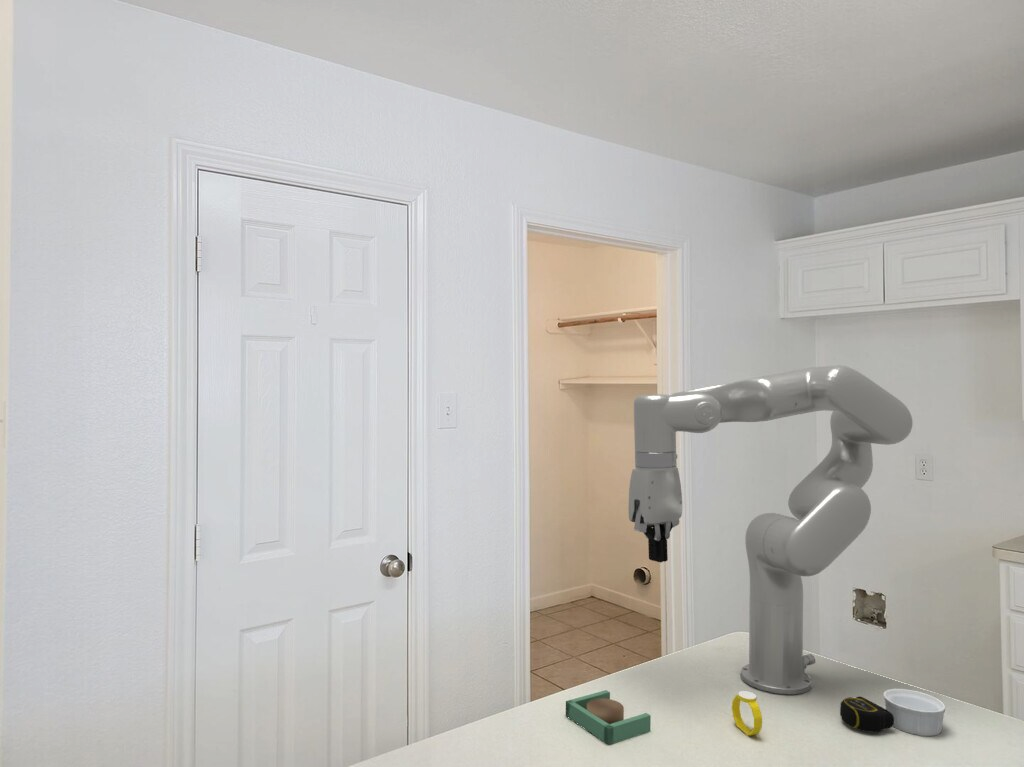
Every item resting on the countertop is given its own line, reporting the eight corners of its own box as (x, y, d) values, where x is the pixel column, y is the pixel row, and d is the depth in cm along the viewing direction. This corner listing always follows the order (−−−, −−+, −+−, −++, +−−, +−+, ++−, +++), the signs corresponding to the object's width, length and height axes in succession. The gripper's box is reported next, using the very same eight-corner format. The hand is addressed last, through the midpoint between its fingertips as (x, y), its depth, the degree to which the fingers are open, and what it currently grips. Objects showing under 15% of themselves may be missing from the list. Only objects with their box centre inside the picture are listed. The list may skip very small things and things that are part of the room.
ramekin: (892, 708, 120) (893, 683, 120) (951, 726, 113) (951, 700, 113) (875, 725, 113) (875, 698, 113) (936, 745, 107) (937, 717, 107)
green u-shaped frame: (606, 704, 119) (606, 690, 119) (650, 731, 110) (650, 715, 110) (565, 716, 114) (565, 701, 114) (608, 744, 105) (608, 728, 105)
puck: (607, 713, 116) (608, 695, 116) (631, 728, 111) (631, 709, 111) (579, 721, 113) (579, 703, 113) (602, 737, 108) (602, 718, 108)
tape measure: (896, 734, 110) (896, 710, 110) (862, 739, 108) (862, 715, 108) (863, 715, 117) (863, 693, 117) (830, 720, 115) (830, 697, 115)
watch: (727, 724, 113) (728, 687, 113) (741, 722, 113) (742, 685, 114) (751, 741, 107) (751, 703, 107) (766, 739, 108) (766, 701, 108)
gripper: (668, 457, 134) (670, 550, 134) (611, 462, 125) (614, 563, 125) (698, 459, 128) (701, 558, 127) (641, 465, 119) (644, 571, 119)
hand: (658, 560), depth 126 cm, fingers closed
